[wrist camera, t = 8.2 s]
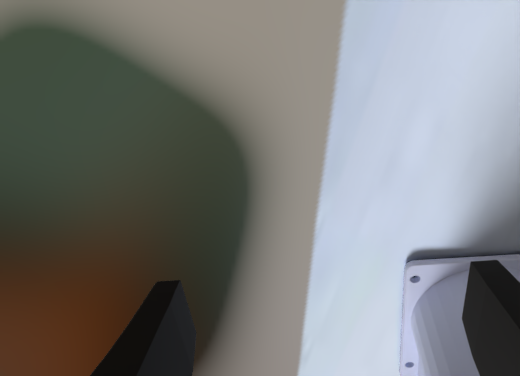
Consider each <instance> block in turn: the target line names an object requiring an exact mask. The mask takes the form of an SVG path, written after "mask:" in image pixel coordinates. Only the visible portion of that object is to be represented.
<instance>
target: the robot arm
mask: <svg viewBox="0 0 520 376" xmlns="http://www.w3.org/2000/svg"><path fill="white" fill-rule="evenodd" d="M412 276H417V277H414V278H412ZM195 341H196V330H195V327H194V323H193V320H192V317H191V314H190V310H189V307H188V304H187V301H186V297H185V294H184V291H183V287H182V284H181V281H180V280H175V281H160V282H157V283H156V284H155V285H154V286H153V288H152V289H151V291H150V292H149V294H148V295H147V297H146V299H145V300H144V301H143V303H142V305H141V306H140V308H139V309H138V311H137V312H136V314H135V315H134V317H133V318H132V320H131V321H130V322H129V324H128V326H127V327H126V328H125V330H124V331H123V333H122V334H121V335H120V337H119V338H118V340H117V341H116V342H115V344H114V345H113V346H112V348H111V349H110V351H109V352H108V353H107V355H106V356H105V357H104V359H103V360H102V361H101V362H100V364H99V365H98V366H97V367H96V369H95V370H94V371H93V372H92V374H91V375H90V376H192V372H193V363H194V353H195ZM399 372H400V376H520V254H514V255H496V256H479V257H462V258H445V259H428V260H413V261H410V262H408V263H407V264H406V265H405V267H404V284H403V305H402V325H401V345H400V366H399Z"/></svg>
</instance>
